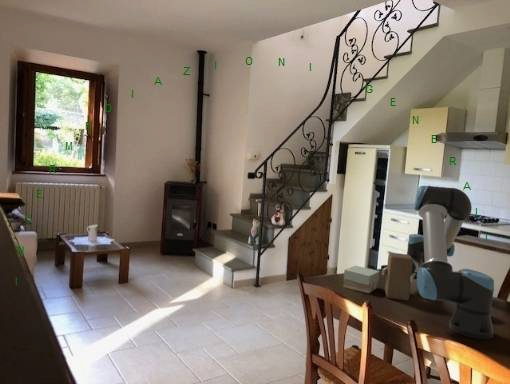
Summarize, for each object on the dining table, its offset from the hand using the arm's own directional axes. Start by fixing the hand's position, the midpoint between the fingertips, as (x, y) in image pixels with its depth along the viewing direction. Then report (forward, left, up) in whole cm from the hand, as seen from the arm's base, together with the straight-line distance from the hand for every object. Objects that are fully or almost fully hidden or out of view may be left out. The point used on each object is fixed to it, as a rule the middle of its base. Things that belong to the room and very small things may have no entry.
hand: (396, 275), depth 192 cm
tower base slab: (+5, +18, -12) cm, 22 cm away
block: (+4, 0, -11) cm, 12 cm away
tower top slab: (+5, +18, -7) cm, 20 cm away
